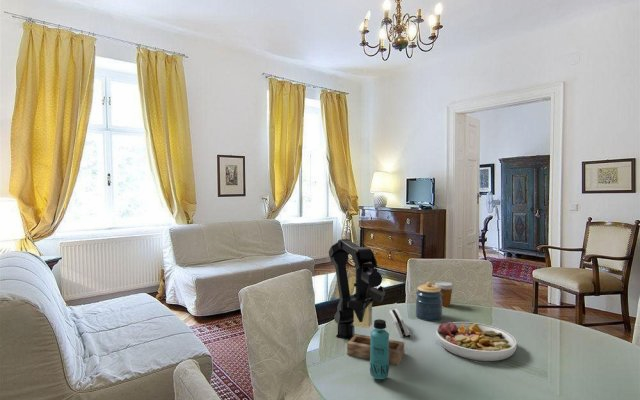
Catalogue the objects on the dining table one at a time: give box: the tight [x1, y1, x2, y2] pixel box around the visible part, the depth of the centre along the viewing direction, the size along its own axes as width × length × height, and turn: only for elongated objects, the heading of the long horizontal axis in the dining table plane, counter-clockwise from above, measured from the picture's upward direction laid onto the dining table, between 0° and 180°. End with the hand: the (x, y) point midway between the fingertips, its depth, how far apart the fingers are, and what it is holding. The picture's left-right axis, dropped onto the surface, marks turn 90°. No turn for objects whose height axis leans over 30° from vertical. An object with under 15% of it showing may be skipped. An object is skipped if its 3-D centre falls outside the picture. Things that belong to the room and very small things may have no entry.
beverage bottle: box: [369, 318, 390, 380], centre depth 125 cm, size 6×7×20 cm
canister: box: [415, 281, 443, 322], centre depth 184 cm, size 13×13×18 cm
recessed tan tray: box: [346, 333, 405, 365], centre depth 143 cm, size 20×10×4 cm, turn 66°
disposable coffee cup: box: [434, 281, 454, 308], centre depth 202 cm, size 10×10×12 cm
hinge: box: [388, 308, 413, 338], centre depth 168 cm, size 17×5×10 cm, turn 0°
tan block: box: [353, 301, 373, 329], centre depth 145 cm, size 6×4×9 cm
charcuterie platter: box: [435, 321, 518, 362], centre depth 150 cm, size 30×30×8 cm
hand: (362, 319), depth 145 cm, fingers closed on tan block, 4 cm apart
